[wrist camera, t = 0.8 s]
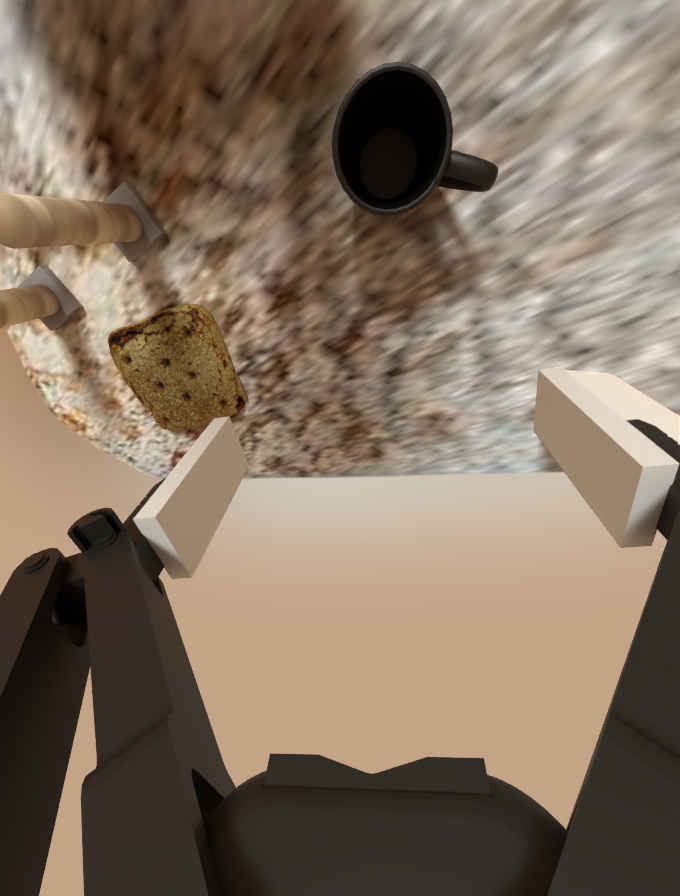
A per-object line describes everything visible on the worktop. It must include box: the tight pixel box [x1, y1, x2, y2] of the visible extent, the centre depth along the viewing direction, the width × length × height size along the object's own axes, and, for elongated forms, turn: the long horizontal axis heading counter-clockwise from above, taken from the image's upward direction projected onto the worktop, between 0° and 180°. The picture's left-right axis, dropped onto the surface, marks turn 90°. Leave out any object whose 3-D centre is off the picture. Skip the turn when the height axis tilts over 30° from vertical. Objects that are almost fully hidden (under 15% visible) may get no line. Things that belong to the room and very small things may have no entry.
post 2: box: [0, 181, 166, 262], centre depth 31 cm, size 5×5×15 cm
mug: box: [332, 62, 498, 217], centre depth 29 cm, size 8×12×10 cm
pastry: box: [108, 304, 248, 431], centre depth 44 cm, size 17×17×3 cm
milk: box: [564, 370, 680, 445], centre depth 33 cm, size 6×6×22 cm
